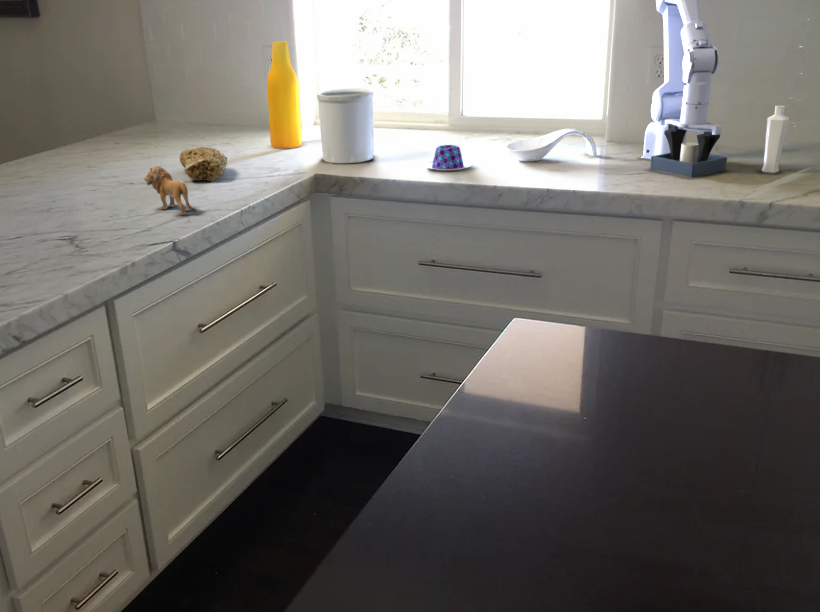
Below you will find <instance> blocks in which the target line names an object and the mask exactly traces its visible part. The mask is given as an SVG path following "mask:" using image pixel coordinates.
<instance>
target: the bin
mask: <svg viewBox="0 0 820 612" xmlns="http://www.w3.org/2000/svg"><path fill="white" fill-rule="evenodd" d="M727 163H728V156H724V155H717V154H712V153H710V154H709V157H708V159H707V161H702V162H698V161H697V163H688V162H682V161H680V158H679V159H678V160H672V159H671V153H666V154H661V155H656V156H651V159H650V167H649V170H654V171H659V172H664V173H668V174H673V175H677V176H683V177H688V178H694V177H699V176H703V175H704V176H705V175H708V174H709V175H710V174H715V173H718V172H719V173H720V172H724V171H726V170H727Z"/></svg>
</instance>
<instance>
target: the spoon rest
mask: <svg viewBox="0 0 820 612" xmlns="http://www.w3.org/2000/svg"><path fill="white" fill-rule="evenodd" d="M572 135H577V136H580V137H581V138H583V139H584V140H585V142H586V148H587V149H586V152H587V154H588V155H589V156H592V157H596V156H597V150H598V149H597V145H596V142H595V141H594V139H593V137H592V136H591V135H590V134H589V133H587V132H585V131H582V130H581V129H578V128H573V127H568V128H562V129H559V130H556V131H553V132H550V133H547V134H544V135H541V136H538V137H533V138H529V139H523V140H519V141H513V142H510V143H508V144H506V145H505V146H504V149H505V151H506V153H507V154H508V155H509V156H510V157H511V158H512V159H514V160H517V161H519V162H529V163H531V162H539V161H541V160H543V158H544V157H546V156H547V155H548V154H549V153H550V152H551V150H552V149H554V147H556V145H557V144H558V143H560V142H561V140H563V139H565V138H566V137H568V136H572Z"/></svg>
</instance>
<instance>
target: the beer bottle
mask: <svg viewBox="0 0 820 612" xmlns="http://www.w3.org/2000/svg"><path fill="white" fill-rule="evenodd" d="M270 65H271V66H270V69H269V71H268V74H267V77H266V90H267V91H266V93H267V106H268V121H269V139H270V146H271V147H272V148H273V149H280V150H281V149H283V150H284V149H295V148H299V147H301V146H302V144H303V136H302V135H303V134H302V121H301V103H300V102H301V101H300V85H299V79H298V75H297V73H296V71H295V69H294V67H293V65H292V61H291V56H290V50H289V42H288V41H287V40H279V41H272V46H271V64H270Z"/></svg>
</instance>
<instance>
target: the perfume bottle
mask: <svg viewBox="0 0 820 612" xmlns="http://www.w3.org/2000/svg"><path fill="white" fill-rule="evenodd" d="M774 106H775V107H774V113H773V115H770V116H768V117H767V119H766V129H765V130H766V132H765V140H764V141H765V144H764V155H763V165H762V167H761V171H762V173H771V174H774V173H775V174H776V173H779V172H780V169H779V168H780V167H779V165H780V162H781V161H780V160H781V156H782V153H783V152H782V151H783V148H784V143H785V140H786V135H787V131H788V126H789V122H790V118H789V117H788V116H787V115H784V114H785V113H784V112H785V108H786V105H774Z"/></svg>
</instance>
